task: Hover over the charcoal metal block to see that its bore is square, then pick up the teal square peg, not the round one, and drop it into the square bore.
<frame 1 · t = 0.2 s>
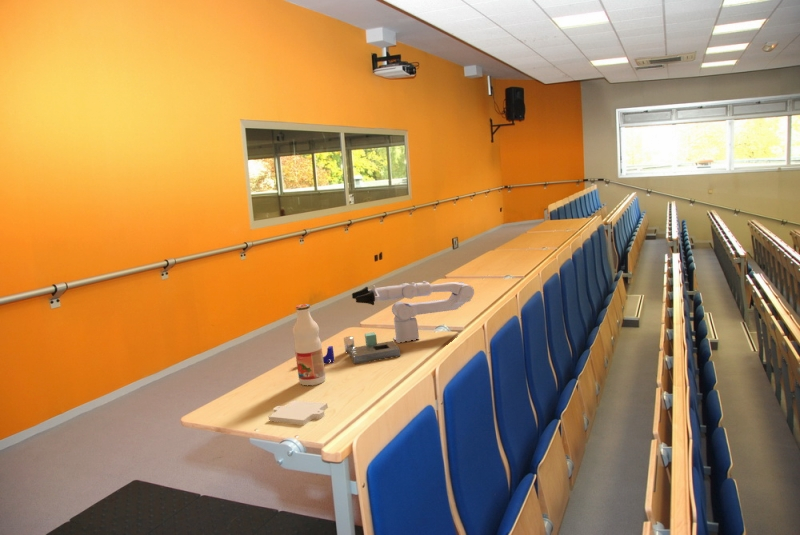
hand: (354, 297, 248), 21 cm above the table, tool horizontal, fingers open, 7 cm apart
fruit juice: (312, 382, 217), on the table
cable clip: (318, 364, 237), on the table
bore block: (374, 355, 239), on the table
round peg: (350, 351, 248), on the table
square peg: (371, 348, 250), on the table
mounting plate: (299, 416, 188), on the table
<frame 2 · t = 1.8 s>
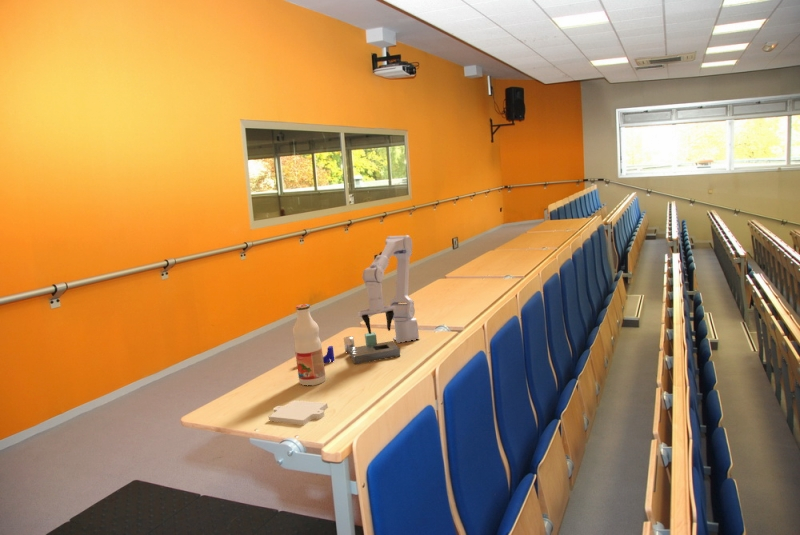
hand: (379, 331, 238), 9 cm above the table, tool pointing down, fingers open, 7 cm apart
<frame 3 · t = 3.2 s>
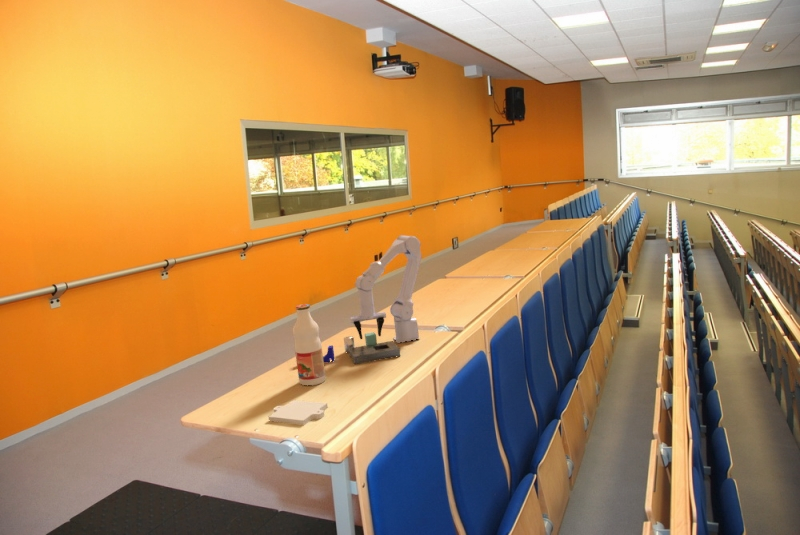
hand: (370, 337, 249), 5 cm above the table, tool pointing down, fingers open, 7 cm apart
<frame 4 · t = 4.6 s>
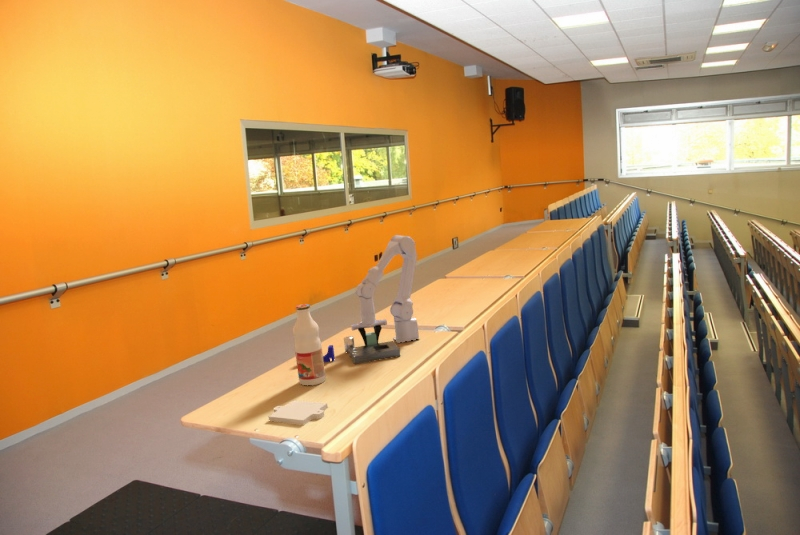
hand: (371, 344, 249), 2 cm above the table, tool pointing down, fingers closed on square peg, 4 cm apart
square peg: (371, 348, 250), on the table, touching gripper
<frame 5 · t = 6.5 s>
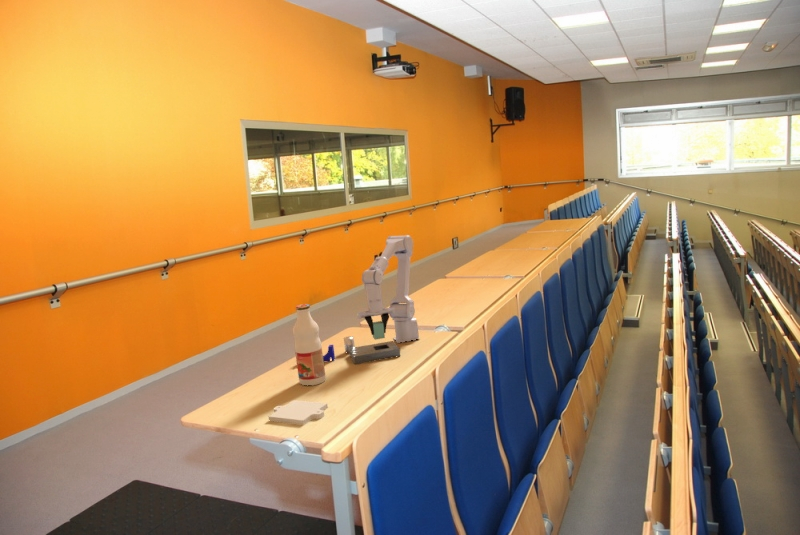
hand: (378, 333, 239), 8 cm above the table, tool pointing down, fingers closed on square peg, 4 cm apart
square peg: (378, 337, 239), point 7 cm above the table, touching gripper
when the fingers open (4 cm above the table, at t = 8.5 s): square peg drops 2 cm, resting in bore block.
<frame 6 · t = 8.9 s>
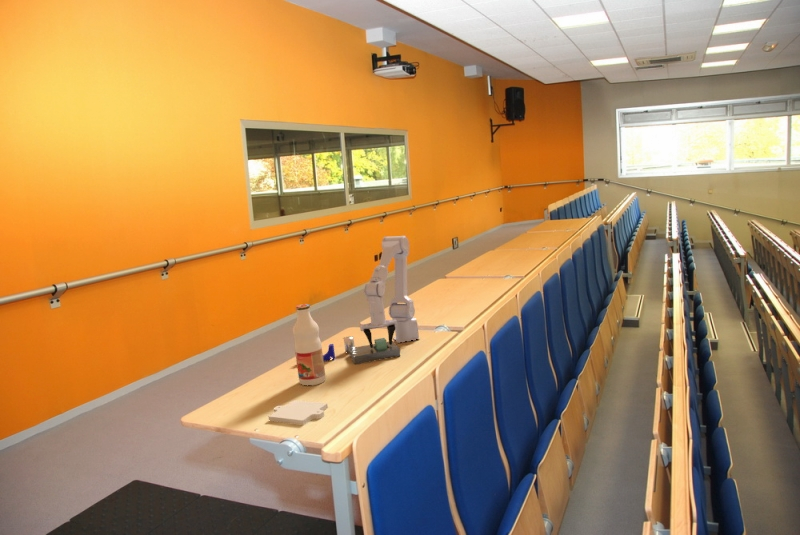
hand: (381, 345, 239), 4 cm above the table, tool pointing down, fingers open, 7 cm apart
square peg: (382, 354, 240), resting in bore block
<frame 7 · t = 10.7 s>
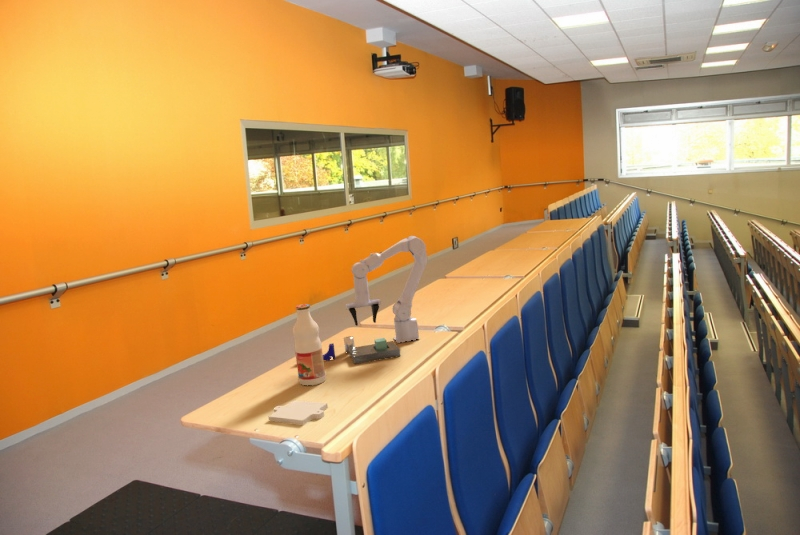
hand: (365, 323, 252), 9 cm above the table, tool pointing down, fingers open, 7 cm apart
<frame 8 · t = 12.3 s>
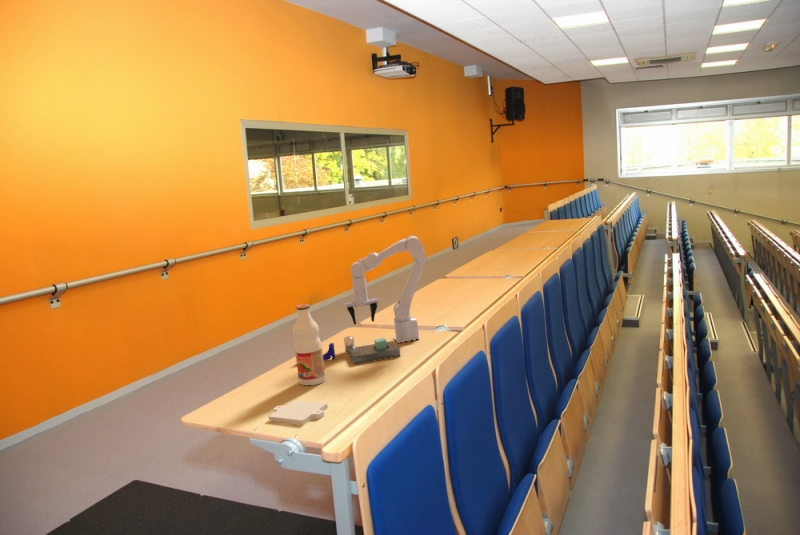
hand: (363, 322, 255), 9 cm above the table, tool pointing down, fingers open, 7 cm apart
at the end: square peg 0.2 cm from the target spot on the bore block, point 0.0 cm above the bore block's base; square peg tilted 0°; round peg moved 0.0 cm from its start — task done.
